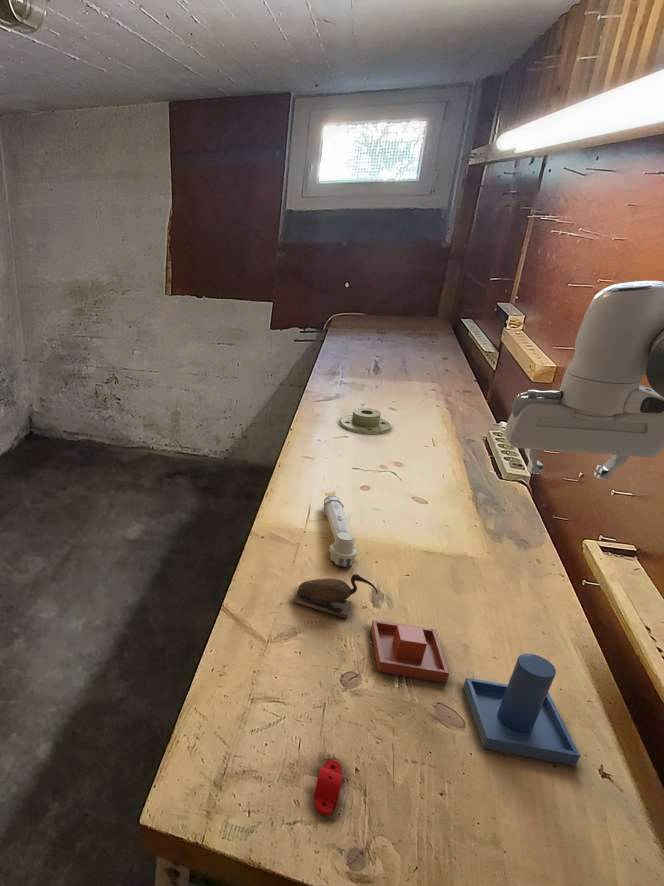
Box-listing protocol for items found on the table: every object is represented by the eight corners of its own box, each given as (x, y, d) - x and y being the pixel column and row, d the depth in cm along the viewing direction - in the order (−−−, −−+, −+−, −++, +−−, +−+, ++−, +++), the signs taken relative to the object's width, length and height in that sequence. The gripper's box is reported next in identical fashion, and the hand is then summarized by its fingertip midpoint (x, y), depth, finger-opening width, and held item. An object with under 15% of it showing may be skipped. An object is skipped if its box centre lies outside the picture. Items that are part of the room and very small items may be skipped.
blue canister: (526, 711, 84) (548, 656, 79) (537, 736, 80) (561, 680, 75) (493, 705, 85) (513, 650, 80) (502, 729, 81) (524, 673, 76)
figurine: (374, 612, 105) (382, 574, 101) (370, 626, 101) (378, 588, 98) (299, 589, 111) (304, 553, 108) (293, 602, 108) (297, 565, 104)
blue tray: (544, 700, 86) (548, 691, 85) (575, 766, 76) (580, 755, 75) (462, 687, 89) (466, 677, 88) (483, 748, 79) (487, 738, 78)
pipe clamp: (333, 819, 71) (335, 809, 70) (310, 809, 72) (312, 798, 71) (344, 768, 77) (346, 757, 76) (323, 759, 78) (325, 748, 77)
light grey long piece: (344, 495, 137) (361, 539, 114) (340, 520, 139) (357, 568, 116) (321, 493, 138) (334, 536, 115) (318, 518, 140) (330, 565, 117)
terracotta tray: (432, 638, 98) (435, 629, 98) (446, 682, 90) (449, 673, 89) (370, 628, 101) (372, 619, 100) (377, 671, 92) (380, 661, 91)
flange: (384, 404, 189) (338, 404, 191) (397, 421, 176) (348, 420, 178) (382, 417, 192) (336, 416, 193) (395, 434, 178) (346, 433, 180)
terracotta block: (417, 645, 96) (422, 627, 95) (422, 662, 93) (427, 644, 91) (392, 641, 97) (396, 623, 96) (396, 658, 94) (400, 640, 92)
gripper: (524, 396, 84) (500, 477, 90) (689, 404, 79) (652, 490, 85) (510, 383, 90) (488, 461, 96) (664, 390, 84) (630, 472, 90)
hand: (566, 475), depth 90 cm, fingers open, 8 cm apart
